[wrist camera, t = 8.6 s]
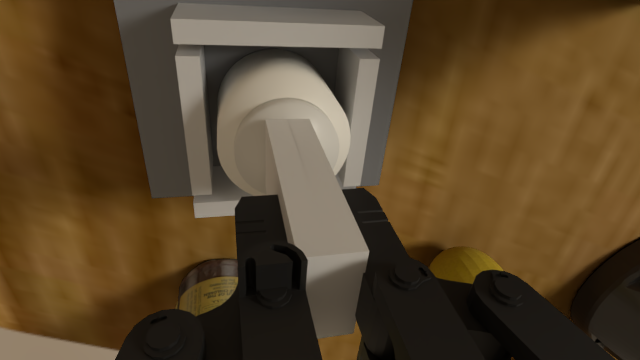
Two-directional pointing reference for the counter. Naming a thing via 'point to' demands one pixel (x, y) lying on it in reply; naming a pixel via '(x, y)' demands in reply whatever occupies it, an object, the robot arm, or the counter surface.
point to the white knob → (273, 113)
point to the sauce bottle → (208, 286)
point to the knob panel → (228, 48)
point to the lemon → (461, 264)
